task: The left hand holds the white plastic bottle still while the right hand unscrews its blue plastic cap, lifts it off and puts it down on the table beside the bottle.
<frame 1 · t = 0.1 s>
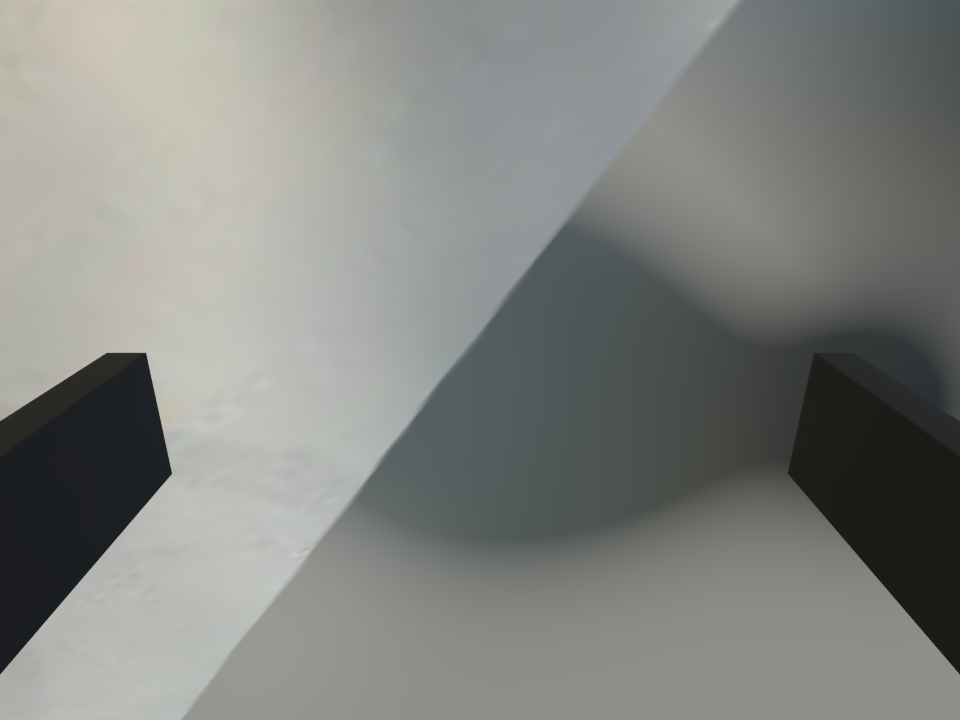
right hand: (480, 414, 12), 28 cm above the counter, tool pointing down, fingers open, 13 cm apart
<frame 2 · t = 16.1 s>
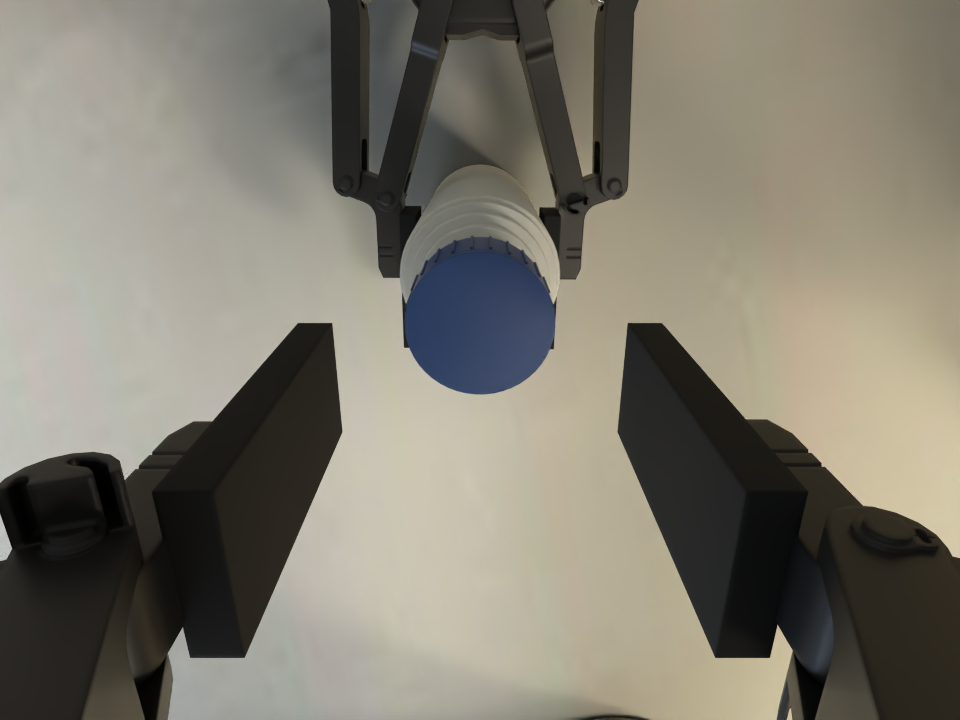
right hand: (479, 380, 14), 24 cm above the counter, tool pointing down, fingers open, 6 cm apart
left hand: (479, 338, 32), fingers closed on bottle, 6 cm apart
cap: (479, 323, 18), point 20 cm above the counter, screwed on, not yet turned
bottle: (479, 217, 36), on the counter, touching left hand
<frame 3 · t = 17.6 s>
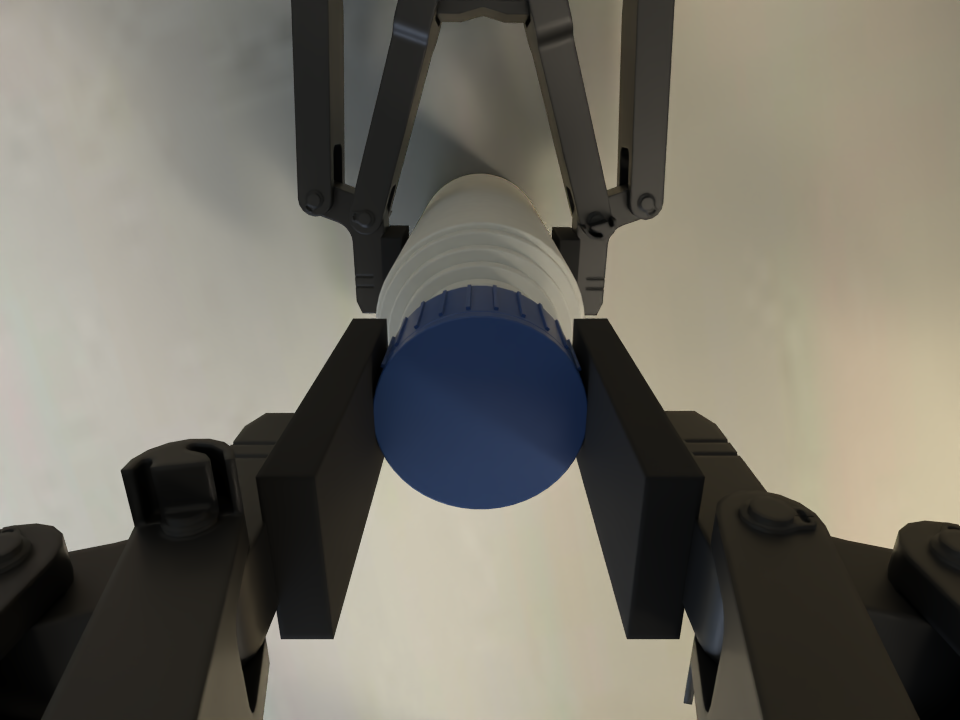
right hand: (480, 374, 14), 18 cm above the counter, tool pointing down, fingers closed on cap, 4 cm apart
cap: (480, 412, 12), point 20 cm above the counter, screwed on, not yet turned, touching right hand
bottle: (480, 235, 31), on the counter, touching left hand
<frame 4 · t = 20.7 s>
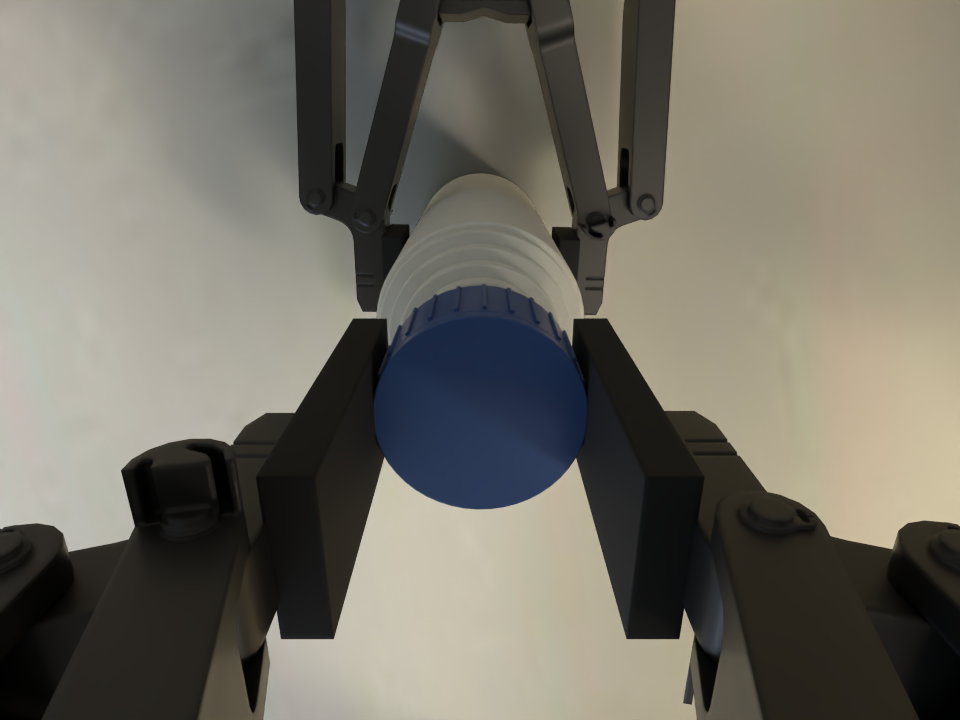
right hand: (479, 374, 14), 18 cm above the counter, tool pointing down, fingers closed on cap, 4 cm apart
cap: (480, 412, 12), point 20 cm above the counter, turned 107° so far, risen 0.1 cm, still on its thread, touching right hand
bottle: (480, 234, 31), on the counter, touching left hand
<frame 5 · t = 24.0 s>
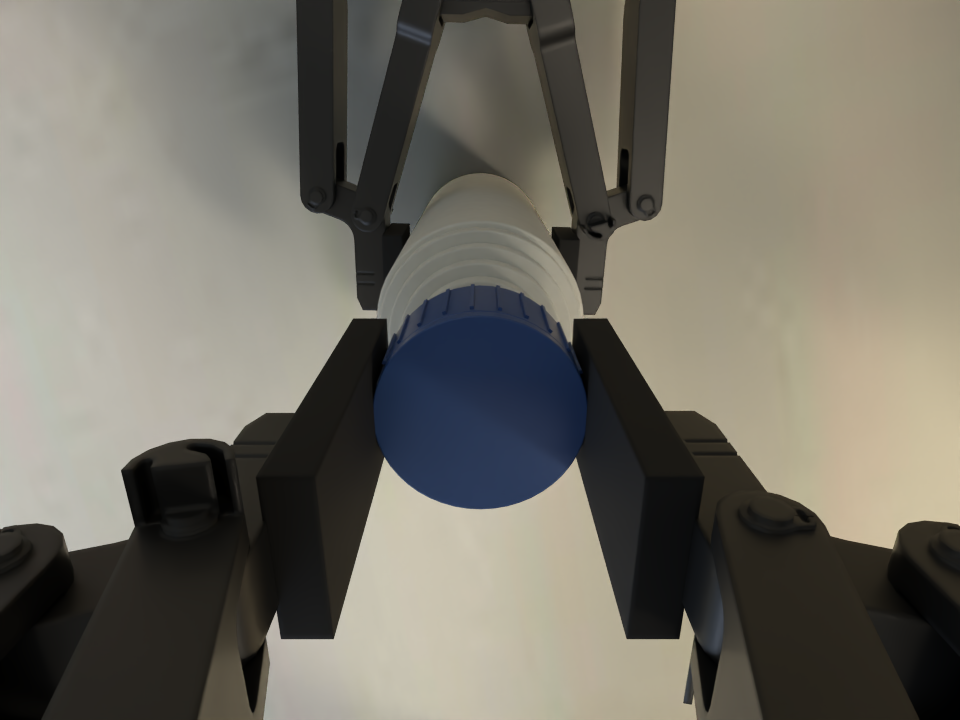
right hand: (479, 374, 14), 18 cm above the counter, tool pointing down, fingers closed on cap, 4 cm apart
cap: (480, 412, 12), point 20 cm above the counter, turned 215° so far, risen 0.2 cm, still on its thread, touching right hand
bottle: (480, 234, 31), on the counter, touching left hand
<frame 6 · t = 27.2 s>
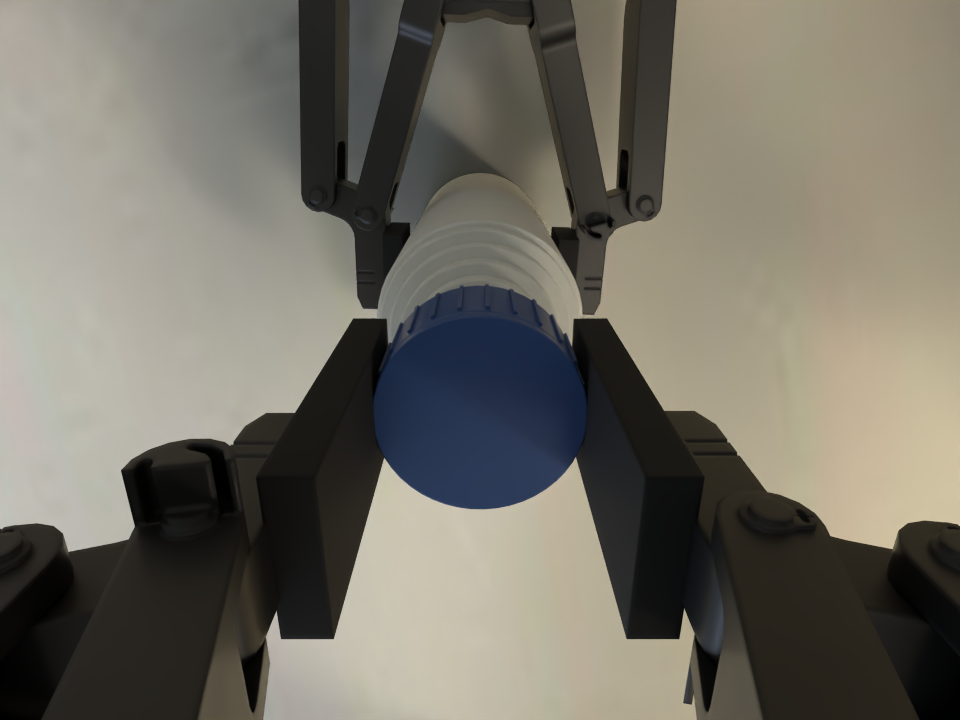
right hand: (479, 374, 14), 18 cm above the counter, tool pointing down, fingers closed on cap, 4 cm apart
cap: (479, 412, 12), point 20 cm above the counter, turned 322° so far, risen 0.3 cm, still on its thread, touching right hand
bottle: (480, 233, 31), on the counter, touching left hand
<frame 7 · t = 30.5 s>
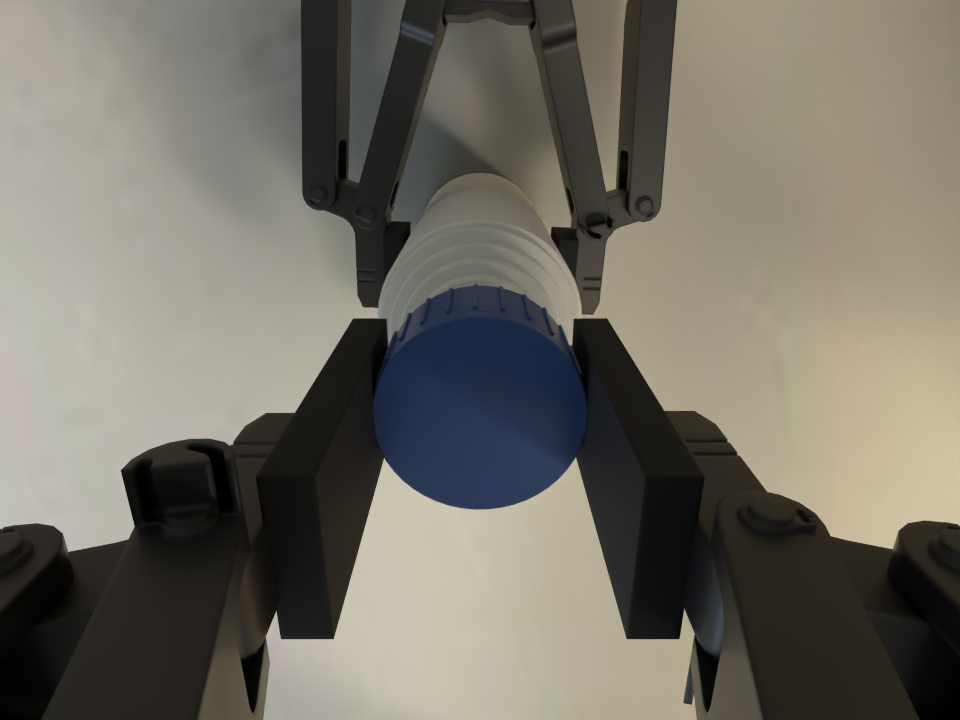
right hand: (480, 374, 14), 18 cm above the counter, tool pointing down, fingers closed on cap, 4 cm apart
cap: (479, 412, 12), point 20 cm above the counter, turned 429° so far, risen 0.4 cm, still on its thread, touching right hand
bottle: (479, 233, 31), on the counter, touching left hand
when the right hand's fingers open (1 cm above the counter, at t = 37.0 s): cap drops 1 cm, point 2 cm above the counter.
when the left hand's fingers open (7 cm above the counter, at t = 38.1 s): bottle stays where it is, on the counter.
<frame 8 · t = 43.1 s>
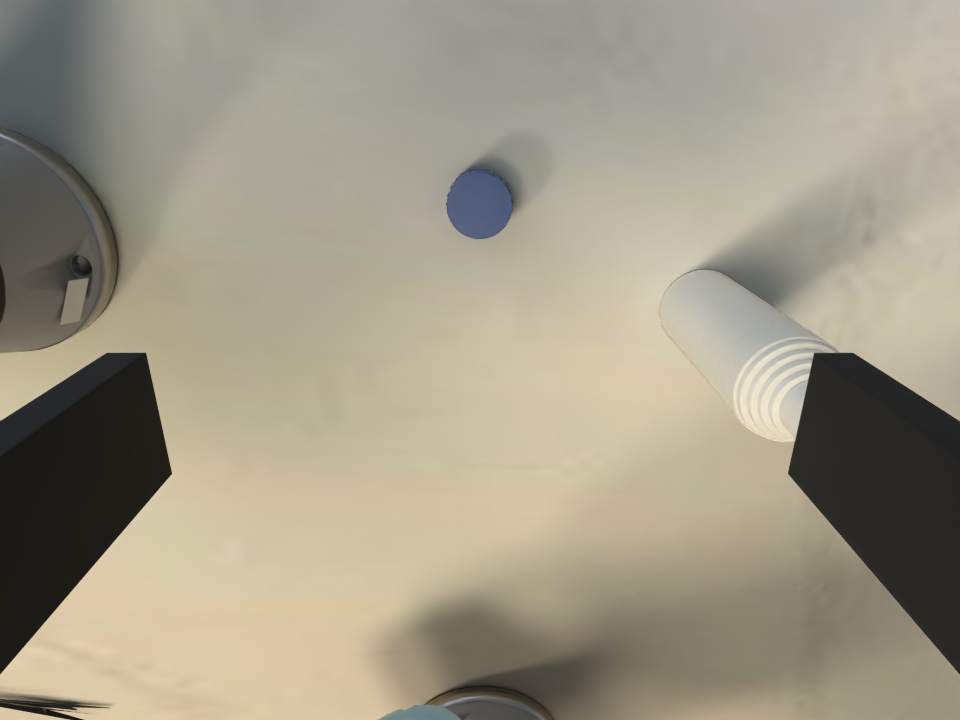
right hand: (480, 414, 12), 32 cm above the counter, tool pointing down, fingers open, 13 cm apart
cap: (479, 205, 41), point 2 cm above the counter, off its thread
bottle: (699, 308, 45), on the counter
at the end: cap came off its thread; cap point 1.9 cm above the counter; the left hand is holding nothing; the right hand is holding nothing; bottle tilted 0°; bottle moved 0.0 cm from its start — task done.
